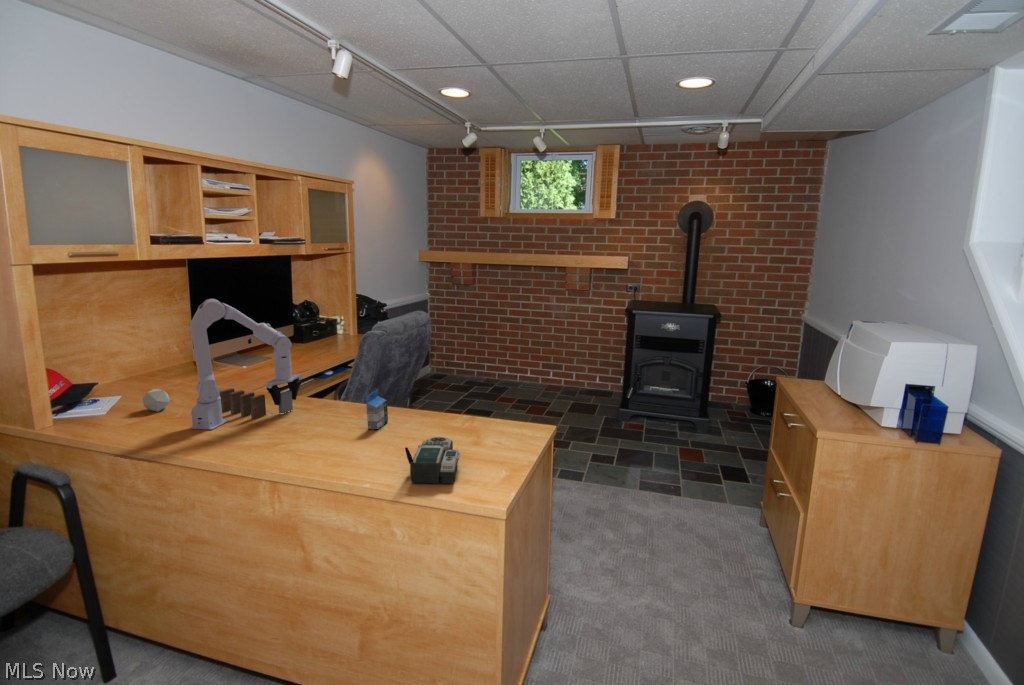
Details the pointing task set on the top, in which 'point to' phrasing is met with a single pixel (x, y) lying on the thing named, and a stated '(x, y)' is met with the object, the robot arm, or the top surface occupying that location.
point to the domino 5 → (285, 402)
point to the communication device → (434, 461)
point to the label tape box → (376, 411)
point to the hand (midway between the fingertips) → (285, 402)
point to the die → (156, 400)
